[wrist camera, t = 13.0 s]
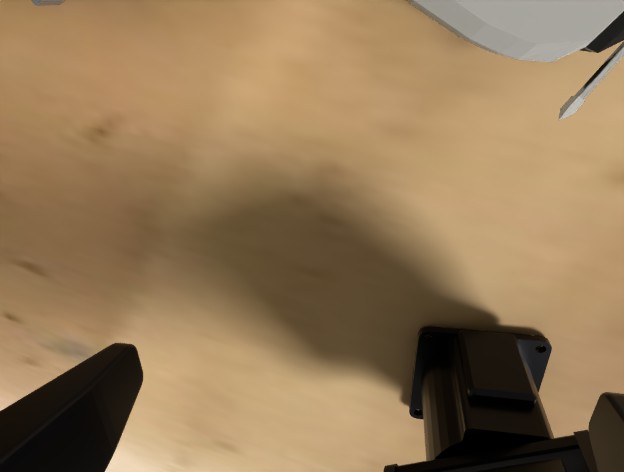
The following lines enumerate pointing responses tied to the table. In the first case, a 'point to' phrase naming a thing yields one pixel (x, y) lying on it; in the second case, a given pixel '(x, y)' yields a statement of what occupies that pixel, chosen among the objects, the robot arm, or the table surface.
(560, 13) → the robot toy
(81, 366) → the robot arm
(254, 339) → the table surface
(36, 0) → the tower base
